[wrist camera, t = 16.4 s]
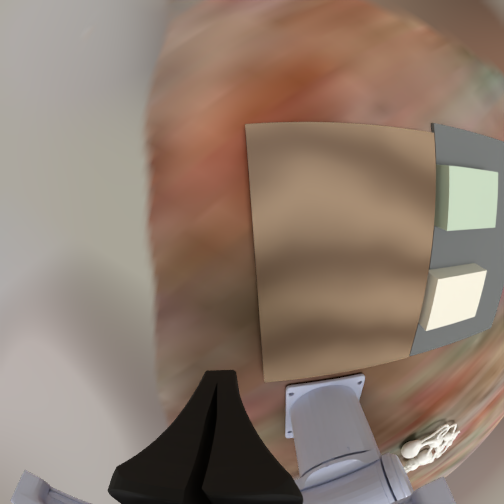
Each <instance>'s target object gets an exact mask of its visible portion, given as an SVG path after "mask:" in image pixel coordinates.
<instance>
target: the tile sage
mask: <svg viewBox="0 0 504 504" xmlns="http://www.w3.org/2000/svg"><path fill="white" fill-rule="evenodd" d="M497 199H498V172H493V171H487V170H480V169H473V168H466V167H458V166H449V165H438V164H436V197H435V217H434V226H436V227H439V228H441V229H444V230H446V231H453V230H467V229H481V228H495V225H496V214H497Z"/></svg>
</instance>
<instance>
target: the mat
mask: <svg viewBox="0 0 504 504" xmlns="http://www.w3.org/2000/svg"><path fill="white" fill-rule="evenodd" d="M431 127H432V133H434V139H435V159H436V164H438V165H449V166H458V167H466V168H473V169H480V170H487V171H493V172H498V199H497V214H496V225H495V228H481V229H467V230H453V231H446V230H444V229H441V228H439V227H436V226H434V230H433V240H432V249H431V257H430V264H429V270H431V269H438V268H445V267H452V266H459V265H465V264H472V263H475V264H477V265H479V266H481V267H482V268H484V269H486V270H487V272H486V277H485V281H484V286H483V290H482V293H481V297H480V301H479V304H478V308H477V311H476V314H475V317H472V318H469V319H466V320H463V321H460V322H456V323H453V324H450V325H446V326H443V327H439V328H435V329H432V330H428V331H425V330H424V328H423V327H422V326H421V325H420V324H419V323H418V325H417V329H416V333H415V337H414V340H413V344H412V347H411V351H410V354H409V356H412V355H416V354H419V353H423V352H426V351H429V350H432V349H436V348H439V347H442V346H445V345H448V344H451V343H453V342H456V341H459V340H462V339H464V338H467V337H470V336H472V335H475V334H477V333H480V332H482V331H485V330H487V329H490V328H491V326H492V323H493V320H494V317H495V314H496V311H497V307H498V304H499V301H500V297H501V294H502V290H503V286H504V142H503V141H500V140H497V139H494V138H490V137H487V136H484V135H480V134H477V133H473V132H470V131H466V130H462V129H458V128H454V127H449V126H445V125H440V124H435V123H432V124H431Z"/></svg>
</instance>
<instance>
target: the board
mask: <svg viewBox="0 0 504 504" xmlns="http://www.w3.org/2000/svg"><path fill="white" fill-rule="evenodd" d="M245 131H246V144H247V157H248V170H249V183H250V196H251V209H252V223H253V236H254V250H255V263H256V277H257V290H258V304H259V318H260V331H261V345H262V359H263V373H264V382H275V381H285V380H294V379H303V378H310V377H317V376H324V375H330V374H336V373H342V372H347V371H352V370H357V369H362V368H367V367H372V366H376V365H380V364H385V363H389V362H393V361H397V360H401V359H404V358H408V357H409V354H410V351H411V347H412V344H413V340H414V337H415V333H416V329H417V325H418V321H419V317H420V313H421V308H422V304H423V299H424V294H425V289H426V283H427V277H428V271H429V264H430V257H431V249H432V240H433V230H434V217H435V197H436V159H435V139H434V133H432V132H426V131H419V130H413V129H406V128H398V127H389V126H379V125H368V124H354V123H334V122H277V123H256V124H245Z"/></svg>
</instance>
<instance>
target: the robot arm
mask: <svg viewBox="0 0 504 504" xmlns="http://www.w3.org/2000/svg"><path fill="white" fill-rule="evenodd" d="M364 381H365V376H364V374H357V375H352V376H347V377H342V378H336V379H330V380H324V381H318V382H311V383H303V384H295V385H289V386H287V387H286V416H285V437H286V438H294V442H295V448H296V454H297V461H298V467H299V473H300V478H299V479H297V480H293V478H292V476H291V475H290V474H289V473H288V472H287V471H286V470H285V469H284V468H283V467H282V466H281V464H280V463H279V462H278V461H277V460H276V459H275V457H274V456H273V455H272V454H271V452H270V451H269V450H268V448H267V447H266V446H265V444H264V443H263V441H262V440H261V438H260V437H259V435H258V434H257V432H256V430H255V429H254V427H253V425H252V423H251V421H250V419H249V417H248V415H247V413H246V411H245V408H244V406H243V403H242V401H241V398H240V394H239V388H238V382H237V375H236V371H234V370H217V371H206V372H205V374H204V376H203V378H202V380H201V382H200V383H199V385H198V387H197V389H196V390H195V392H194V394H193V395H192V397H191V398H190V400H189V402H188V403H187V405H186V406H185V407H184V409H183V410H182V411H181V413H180V414H179V415H178V417H177V418H176V419H175V420H174V422H173V423H172V424H171V425H170V426H169V427H168V428H167V429H166V430H165V431H164V432H163V433H162V434H161V435H160V436H159V437H158V438H157V439H156V440H155V441H154V442H153V443H151V444H150V445H149V446H148V447H146V448H145V449H144V450H142V451H141V452H140V453H138V454H137V455H136V456H134V457H133V458H131V459H129V460H128V461H126V462H124V463H122V464H121V465H119V466H117V467H116V469H115V471H114V473H113V476H112V479H111V481H110V485H109V488H108V492H109V494H110V495H111V496H112V497H113V498H114V499H116V500H117V501H118V502H120V503H121V504H456V502H455V500H454V498H453V496H452V493H451V492H450V489H449V487H448V485H447V483H446V481H445V478H444V477H440V478H438V479H436V480H434V481H432V482H430V483H428V484H426V485H424V486H422V487H420V488H418V489H417V490H415V491H413V488H412V486H411V483H410V481H409V478H408V476H407V474H406V472H405V469H404V467H403V465H402V463H401V461H400V460H399V458H398V456H397V455H395V454H390V453H389V452H388V453H385V454H384V455H381V454H380V452H379V449H378V446H377V444H376V441H375V439H374V436H373V434H372V431H371V429H370V427H369V424H368V422H367V419H366V417H365V414H364V412H363V410H362V407H361V405H360V402H359V399H360V396H361V392H362V389H363V385H364ZM11 502H12V503H14V504H91V503H88V502H85V501H82V500H80V499H78V498H75V497H73V496H70V495H68V494H66V493H63V492H61V491H59V490H57V489H55V488H53V487H51V486H50V485H49V484H48V483H47V482H45V481H44V480H43V479H41V478H39V477H38V476H36V475H34V474H32V473H30V472H29V471H27V470H24V472H23V474H22V476H21V478H20V480H19V483H18V485H17V487H16V489H15V491H14V494H13V496H12V498H11Z"/></svg>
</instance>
